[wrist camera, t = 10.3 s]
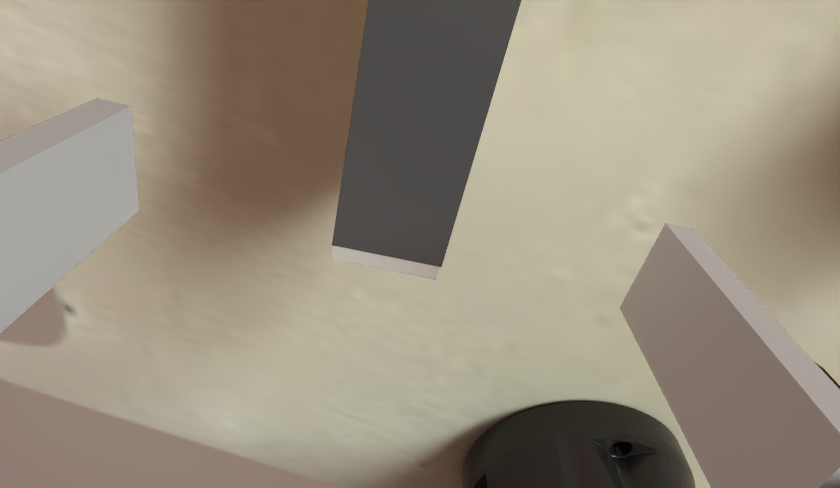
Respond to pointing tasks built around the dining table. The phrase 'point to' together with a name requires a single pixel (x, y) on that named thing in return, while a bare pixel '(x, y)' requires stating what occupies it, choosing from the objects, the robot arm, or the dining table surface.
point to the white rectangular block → (416, 127)
